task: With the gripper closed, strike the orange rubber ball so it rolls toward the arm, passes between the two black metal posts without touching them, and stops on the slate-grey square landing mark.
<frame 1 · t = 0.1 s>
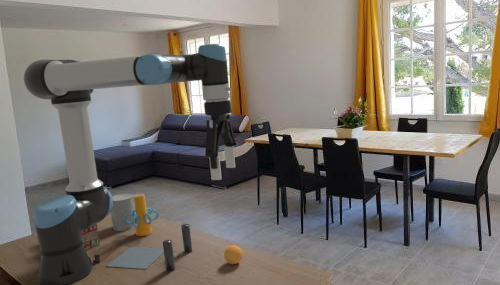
hand: (224, 173, 116), 28 cm above the table, tool pointing down, fingers open, 13 cm apart
landing mark: (137, 257, 129), on the table
cylinder: (144, 233, 150), on the table
post 1: (170, 269, 119), on the table
post 2: (188, 251, 131), on the table
ball: (233, 254, 120), on the table
stopper wall: (106, 255, 133), on the table
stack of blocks: (79, 242, 148), on the table
white tapered bucket: (125, 226, 159), on the table
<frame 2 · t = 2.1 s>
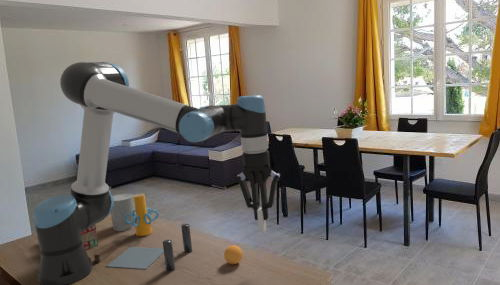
hand: (262, 230, 116), 11 cm above the table, tool pointing down, fingers closed
nothing on the table moved.
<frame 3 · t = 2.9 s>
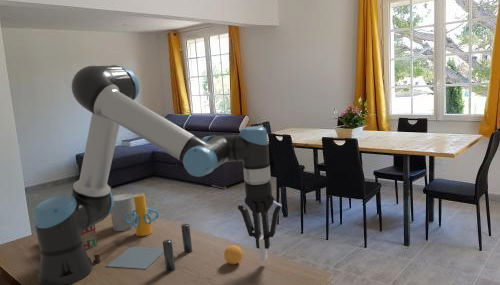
hand: (264, 258, 117), 2 cm above the table, tool pointing down, fingers closed
nothing on the table moved.
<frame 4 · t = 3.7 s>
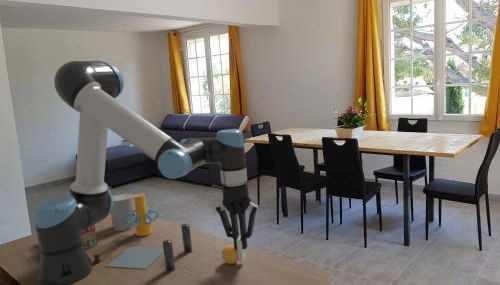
hand: (242, 258, 119), 2 cm above the table, tool pointing down, fingers closed
ball: (231, 254, 120), on the table, touching gripper
everything else where it was.
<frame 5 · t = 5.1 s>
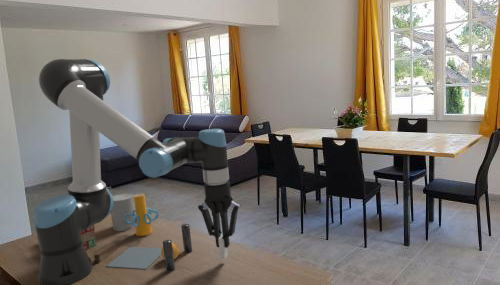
hand: (224, 256, 121), 2 cm above the table, tool pointing down, fingers closed
ball: (170, 251, 126), on the table
everything else where it was.
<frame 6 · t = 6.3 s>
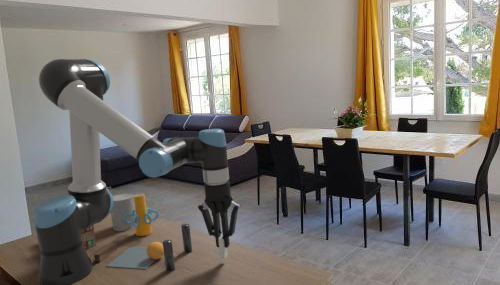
hand: (224, 256, 121), 2 cm above the table, tool pointing down, fingers closed
ball: (155, 250, 127), on the table
everything else where it was.
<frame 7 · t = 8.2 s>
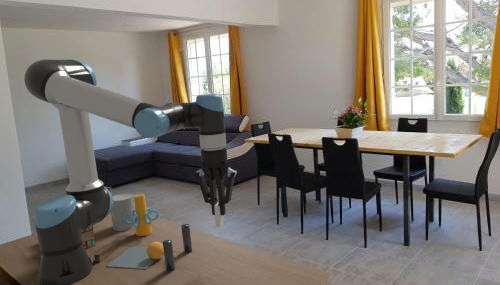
hand: (219, 225, 119), 12 cm above the table, tool pointing down, fingers closed
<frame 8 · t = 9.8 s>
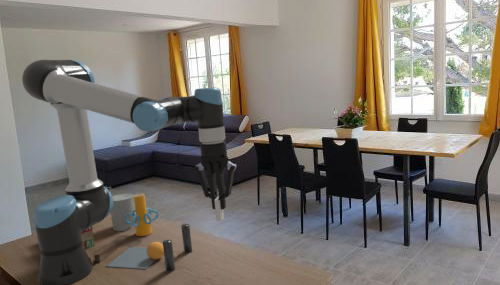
hand: (220, 219, 119), 14 cm above the table, tool pointing down, fingers closed
at the end: ball 6.8 cm from the landing mark (horizontally); ball never touched post 2; ball never touched post 1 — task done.
